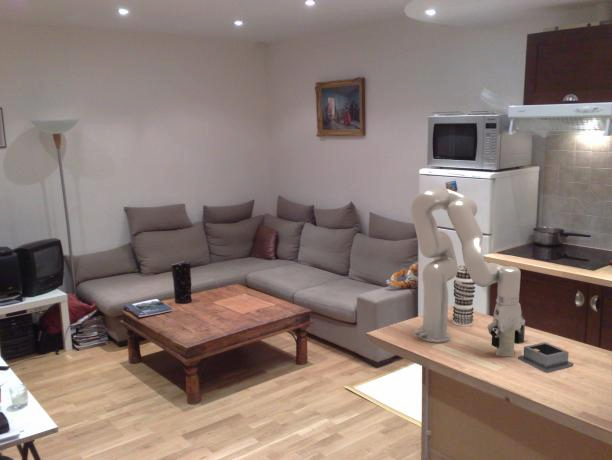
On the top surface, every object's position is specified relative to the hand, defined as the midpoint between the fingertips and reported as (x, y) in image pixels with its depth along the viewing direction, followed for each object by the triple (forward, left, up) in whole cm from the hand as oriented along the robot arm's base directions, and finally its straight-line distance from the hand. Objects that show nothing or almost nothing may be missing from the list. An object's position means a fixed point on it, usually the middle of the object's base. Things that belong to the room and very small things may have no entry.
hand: (505, 344), depth 208 cm
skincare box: (0, 0, -4) cm, 4 cm away
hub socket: (+7, -12, -4) cm, 15 cm away
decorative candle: (+9, +34, -4) cm, 35 cm away
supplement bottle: (+14, +9, -4) cm, 17 cm away
